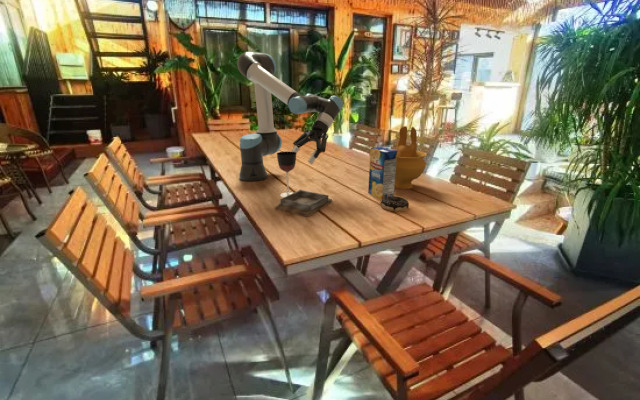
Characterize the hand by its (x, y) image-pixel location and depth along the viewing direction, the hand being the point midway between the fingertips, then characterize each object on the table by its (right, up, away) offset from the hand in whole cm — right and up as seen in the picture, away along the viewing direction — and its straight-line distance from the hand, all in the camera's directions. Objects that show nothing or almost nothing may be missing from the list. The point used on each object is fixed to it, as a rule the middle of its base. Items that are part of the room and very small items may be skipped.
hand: (300, 160), depth 155 cm
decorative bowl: (+52, -11, +16) cm, 55 cm away
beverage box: (+38, -17, +1) cm, 42 cm away
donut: (+41, -22, -13) cm, 49 cm away
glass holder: (+3, -21, -11) cm, 24 cm away
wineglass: (-6, -16, +2) cm, 17 cm away
